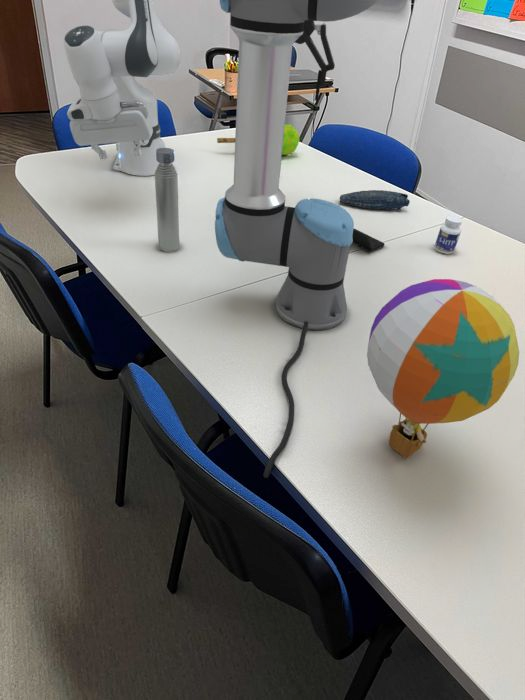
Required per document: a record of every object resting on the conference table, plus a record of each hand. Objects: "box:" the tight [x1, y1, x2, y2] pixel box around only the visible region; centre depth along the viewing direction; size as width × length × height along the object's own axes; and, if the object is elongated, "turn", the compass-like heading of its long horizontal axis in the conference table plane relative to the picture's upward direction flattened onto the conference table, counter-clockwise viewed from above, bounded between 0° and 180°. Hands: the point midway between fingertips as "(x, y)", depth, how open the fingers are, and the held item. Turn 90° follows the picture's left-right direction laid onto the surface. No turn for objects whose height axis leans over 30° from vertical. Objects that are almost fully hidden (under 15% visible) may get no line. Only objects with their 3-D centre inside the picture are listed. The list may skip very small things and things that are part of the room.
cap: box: [156, 147, 175, 164], centre depth 116 cm, size 4×4×2 cm
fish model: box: [339, 189, 411, 211], centre depth 158 cm, size 7×21×5 cm, turn 84°
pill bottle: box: [434, 215, 463, 255], centre depth 137 cm, size 5×5×9 cm
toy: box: [366, 278, 520, 459], centre depth 74 cm, size 20×20×30 cm
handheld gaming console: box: [352, 228, 385, 253], centre depth 138 cm, size 12×7×10 cm
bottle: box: [154, 163, 180, 253], centre depth 123 cm, size 5×5×24 cm
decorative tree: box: [216, 124, 300, 156], centre depth 186 cm, size 18×10×30 cm
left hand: (121, 156), depth 137 cm, fingers open, 8 cm apart
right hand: (290, 96), depth 133 cm, fingers open, 13 cm apart
